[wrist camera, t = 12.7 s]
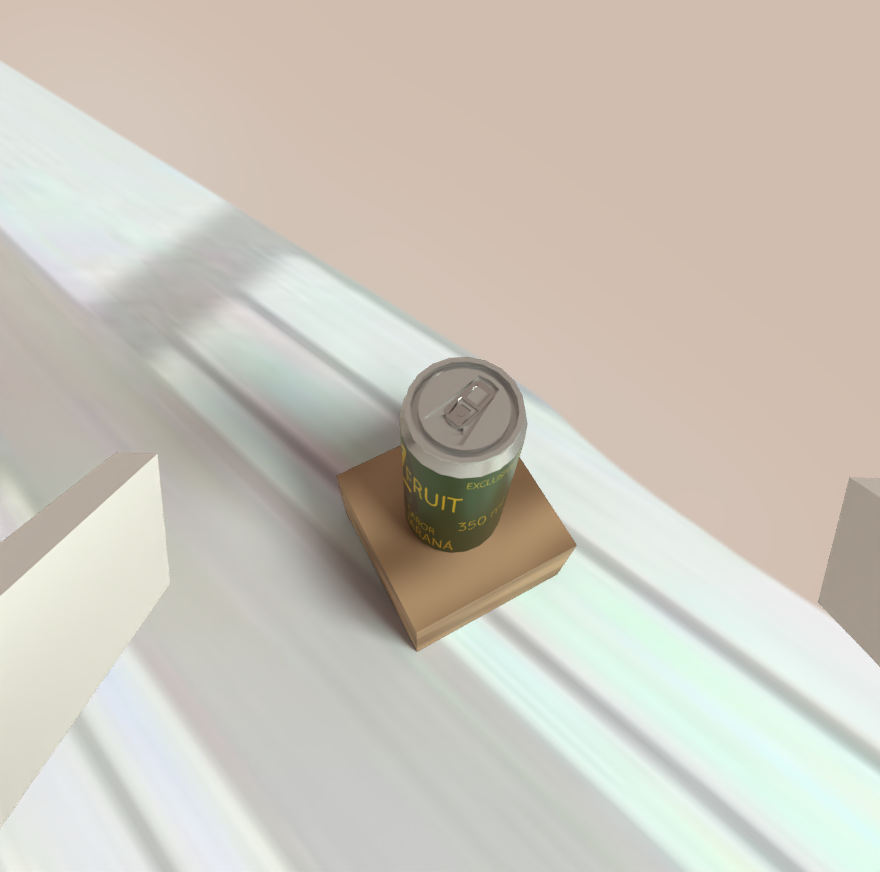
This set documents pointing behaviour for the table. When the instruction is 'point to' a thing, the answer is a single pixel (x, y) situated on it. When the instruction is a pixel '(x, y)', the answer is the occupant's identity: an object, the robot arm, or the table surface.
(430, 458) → the guarana soda can
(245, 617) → the table surface
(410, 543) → the walnut block
